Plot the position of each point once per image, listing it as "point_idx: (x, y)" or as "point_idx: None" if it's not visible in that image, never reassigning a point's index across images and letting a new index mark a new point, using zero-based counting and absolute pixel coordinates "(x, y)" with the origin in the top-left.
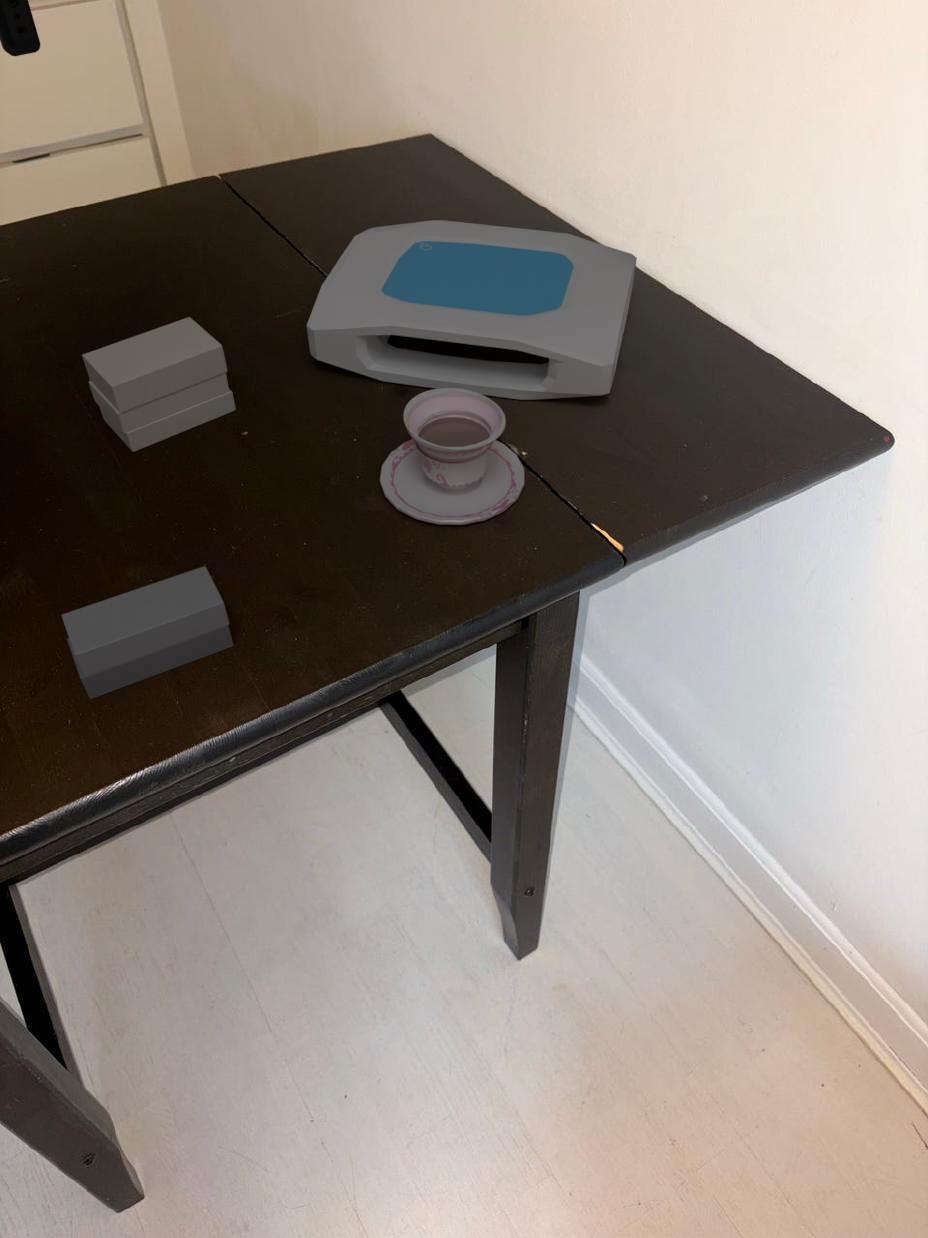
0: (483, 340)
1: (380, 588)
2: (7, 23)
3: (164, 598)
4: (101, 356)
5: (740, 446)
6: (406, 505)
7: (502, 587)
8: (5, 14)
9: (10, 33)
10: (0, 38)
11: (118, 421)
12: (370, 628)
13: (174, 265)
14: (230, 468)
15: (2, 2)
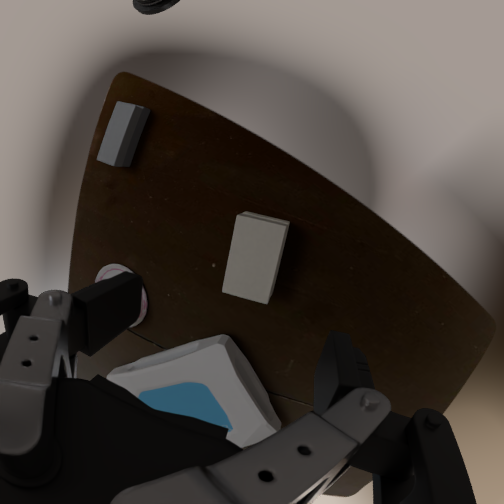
0: (139, 369)
1: (97, 223)
2: (91, 285)
3: (112, 142)
4: (273, 233)
5: (82, 364)
6: (118, 268)
7: (75, 253)
8: (82, 289)
9: (100, 281)
10: (126, 276)
11: (248, 212)
12: (88, 204)
13: (390, 362)
14: (195, 237)
15: (70, 294)
